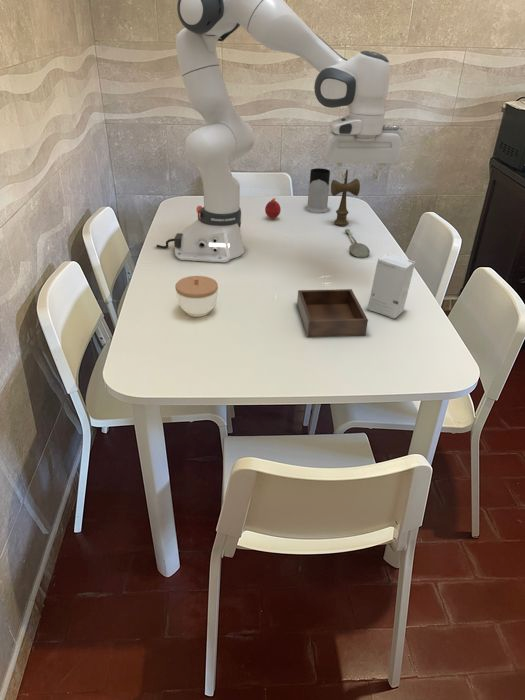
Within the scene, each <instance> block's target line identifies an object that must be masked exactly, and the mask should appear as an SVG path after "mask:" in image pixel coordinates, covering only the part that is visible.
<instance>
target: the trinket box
mask: <svg viewBox="0 0 525 700" xmlns="http://www.w3.org/2000/svg"><path fill="white" fill-rule="evenodd" d="M218 289H219V284H218V282H217V281H216V280H215V279H214V278H213V277H209V276H204V275H191V276H186V277H182V278H181V279H179V280H178V281H176V283H175V292H176V299H177V303H178V305H179V307H180V309H181V310H182V311H183V312H185V313H186V315H187V316H190V317H194V318H200V317H201V318H202V317H205V316H207V315H208V314H209V313H210V312H211V311H212V310H213V309H214V308H215V306H216V303H217V300H218Z"/></svg>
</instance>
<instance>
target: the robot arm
mask: <svg viewBox="0 0 525 700" xmlns="http://www.w3.org/2000/svg"><path fill="white" fill-rule="evenodd" d="M176 4H177V5H176V10H177V17H178V19H179V21H180V23H181V25H182V26H183V28H182V29H181V30H180V31H179V32H177V35H176V37H175V49H176V56H177V62H178V66H179V67H178V68H179V70H180V75H181V78H182V82H183V85H184V89H185V92H186V95H187V98H188V103H189V105H190V106H191V108H192V109H193V110H195V112H197V113H198V114H199V115H200V116H201V118H203V120H204V121H205V123H206V125H205V126H201V127H199V128H196V129H195V130H194V131H192V132H191V133H189V134H188V135H187V137H186V139H185V142H184V152H185V155H186V157H187V159H188V161H189V162H190V163H191V164H192V165H193V166H194V167H195V168H196V169H197V171H198V173H199V176H200V179H201V183H202V191H203V193H202V194H203V206H202V205H197V207H196V213H197V220H195V221H194V222H193V223H192V224H190V225H188V226H187V227H186V228H185V229H184V230H183V232H181V233H180V232H177V233H176V235H175V236H174V238H169V239H166V241H165V245H161V244H156V245H155V246H156V248H159V249H168V248H169V243H170V242H173V244H174V255H175V257H176V258H177V259H179V260H181V261H194V262H209V263H210V262H211V263H228V262H229V261H230V260H232V259H235V258H238V257H240V256H242V255H244V253H245V248H244V245H243V239H242V231H241V225H242V208H241V207H240V205H241V204H240V203H241V201H240V200H241V198H240V194H241V193H240V191H241V189H240V188H241V187H240V185H241V184H240V183H239V181H238V180H237V179H236V177H234V176H233V174H232V171H231V162H232V161H235V160H238V159H241V158H242V157H244V156H246V155H247V154H248V153H249V152H250V151H251V150H252V149H253V147H254V144H255V134H254V130H253V128H252V127H251V125H250V124H249V123H247V122H246V121H245V120H244V119H243V118H242V117H241V116H240V114H239V113H238V111H237V109H236V107H235V106H234V104H233V102H232V100H231V97H230V95H229V93H228V89H227V85H226V82H225V80H224V76H223V72H222V67H221V65H220V64H221V63H220V62H219V56H218V54H217V53H218V52H217V42H224V41H225V40H226V39H227V38H228V37H229V36H230V35H231V34H233V33H234V32H236V30H238V29H239V28H240V26H241V27H242V28H243V29H244V30H245V31H246V32H247V33H248V34H249V35H250V36H251V37H252V38H253V39H254V40H255V41H256V42H257V43H259V44H260V45H262V46H263V47H265V48H266V49H268V50H271V51H274V52H282V53H287V54H291V55H295V56H297V57H300V58H301V59H303V60H304V61H306V62H307V63H308V64H309V65H310V66H311V67H313V68H314V69H315V70H316V71H317V72H318V74H317V75H316V78H315V80H314V87H313V88H314V95H315V98H316V100H317V102H318V103H319V104H320V105H321V106H323V107H326V108H330V109H336V108H341V107H348V108H349V111H348V115H346V116H343V117H340V118H337V119H333V120H331V121H330V123H329V129H330V131H329V132H328V133H327V134H326V137H325V139H324V143H323V147H322V148H323V149H322V159H323V160H324V162H325V163H326V164H334V166H335V169H336V171H337V181H345V174H346V172H344V171H343V172H342V170H341V168H343V164H377V166H378V168H377V169H376V170H375V171H373V172H372V176H371V179H372V180H373V181H380V178H381V177H380V176H381V174H382V172H383V171H384V170H385V168H386V164H387V165H389V164H393V165H394V164H398V162H400V160H401V153H402V142H403V139H404V134H405V133H404V129H403V128H402V127H401V126H400V125H398V124H397V125H396V124H395V125H389V124H384V122H385V114H386V109H385V103H386V99H387V97H388V93H389V85H390V76H391V75H390V73H391V71H390V70H391V68H390V67H391V66H390V61H389V59H388V58H387V57H386V56H385V55H384V54H381V53H379V52H375V51H370V50H362V51H359V52H358V53H356V55H354V56H353V57H351V58H349V59H347V58H345V57H343V56H342V55H340V54H339V53H338V52H337V51H336V50H335V49H334V48H332V47H331V46H330V44H328V43H327V42H326V41H325V40H323V38H322V37H320V36H319V35H318V34H316V33H315V32H314V31H313V30H312V29H311V28H310V27H309V26H308V25H307V24H306V23H305V22H304V20H302V19H301V18H300V16H299V15H297V13H296V12H295V11H294V10H293V9H292V8H291V7H290V6H289V5H288V4H287V3H286V1H285V0H177V3H176Z"/></svg>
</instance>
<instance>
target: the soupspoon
mask: <svg viewBox="0 0 525 700" xmlns="http://www.w3.org/2000/svg"><path fill="white" fill-rule="evenodd" d="M344 233H345V234H348V235H349V237H350V238H351V240H352V242H353V243H352V244H350V245H349V247H348V250H349V252H350V253H351V254H352V255H353V256H355V257H357V258H361V259H363V258H367V257H369V255H370V252H371V251H370V249H369V247H368V246H367V245H366V244H364V243H361V242H360V243H359V242H357V240H356V238H355V237H354V236H353V235H352V233H351V230H350V228H346V229H344Z"/></svg>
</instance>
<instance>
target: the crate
mask: <svg viewBox="0 0 525 700" xmlns="http://www.w3.org/2000/svg"><path fill="white" fill-rule="evenodd" d="M296 306H297V309H298V312H299V315H300V318H301V321H302V324H303V328H304V331H305V334H306V336H307V338H314V337H315V338H318V337H319V338H320V337H324V338H325V337H350V336H351V337H352V336H356V337H357V336H366V335H367V329H368V322H369V319H368V317H367V316H366V313H365V312H364V310H363V308H362V306H361V304H360V302H359V300H358V298H357V296H356V295H355V292H354V291H353V289H352V288H347V289H346V288H344V289H343V288H342V289H339V288H338V289H299V290H297V302H296Z"/></svg>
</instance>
